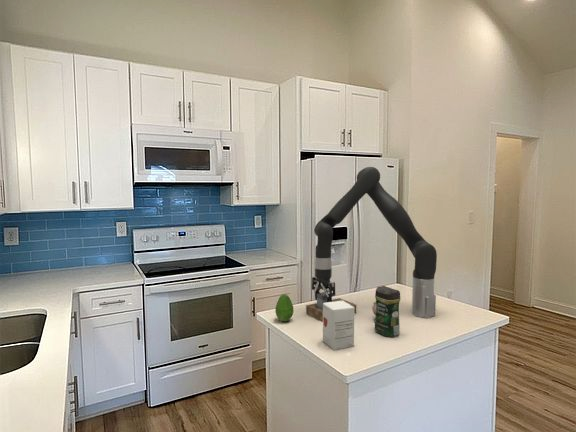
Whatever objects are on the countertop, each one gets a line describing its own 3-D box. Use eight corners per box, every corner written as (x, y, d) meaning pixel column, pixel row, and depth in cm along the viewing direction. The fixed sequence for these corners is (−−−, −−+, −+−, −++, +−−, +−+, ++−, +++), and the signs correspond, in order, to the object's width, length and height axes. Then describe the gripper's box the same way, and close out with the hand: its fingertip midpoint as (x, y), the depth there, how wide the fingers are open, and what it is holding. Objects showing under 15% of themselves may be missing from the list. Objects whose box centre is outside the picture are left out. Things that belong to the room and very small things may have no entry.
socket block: (356, 313, 174) (356, 303, 174) (322, 321, 163) (322, 311, 163) (339, 306, 184) (339, 297, 184) (306, 313, 173) (306, 304, 173)
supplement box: (321, 340, 143) (322, 302, 142) (342, 337, 147) (342, 299, 145) (333, 350, 135) (333, 309, 134) (354, 346, 138) (355, 306, 137)
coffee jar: (371, 330, 153) (371, 286, 151) (385, 327, 157) (385, 283, 155) (388, 339, 145) (389, 292, 143) (403, 334, 149) (404, 288, 147)
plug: (329, 315, 171) (329, 294, 170) (322, 317, 168) (322, 295, 168) (323, 313, 174) (323, 292, 173) (316, 315, 172) (316, 293, 171)
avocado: (279, 325, 159) (279, 297, 158) (273, 319, 167) (272, 292, 166) (296, 322, 162) (296, 295, 161) (289, 316, 170) (289, 290, 169)
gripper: (340, 268, 165) (339, 304, 167) (320, 263, 177) (320, 296, 179) (326, 271, 161) (326, 308, 163) (307, 265, 173) (307, 299, 174)
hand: (323, 302), depth 171 cm, fingers open, 8 cm apart
